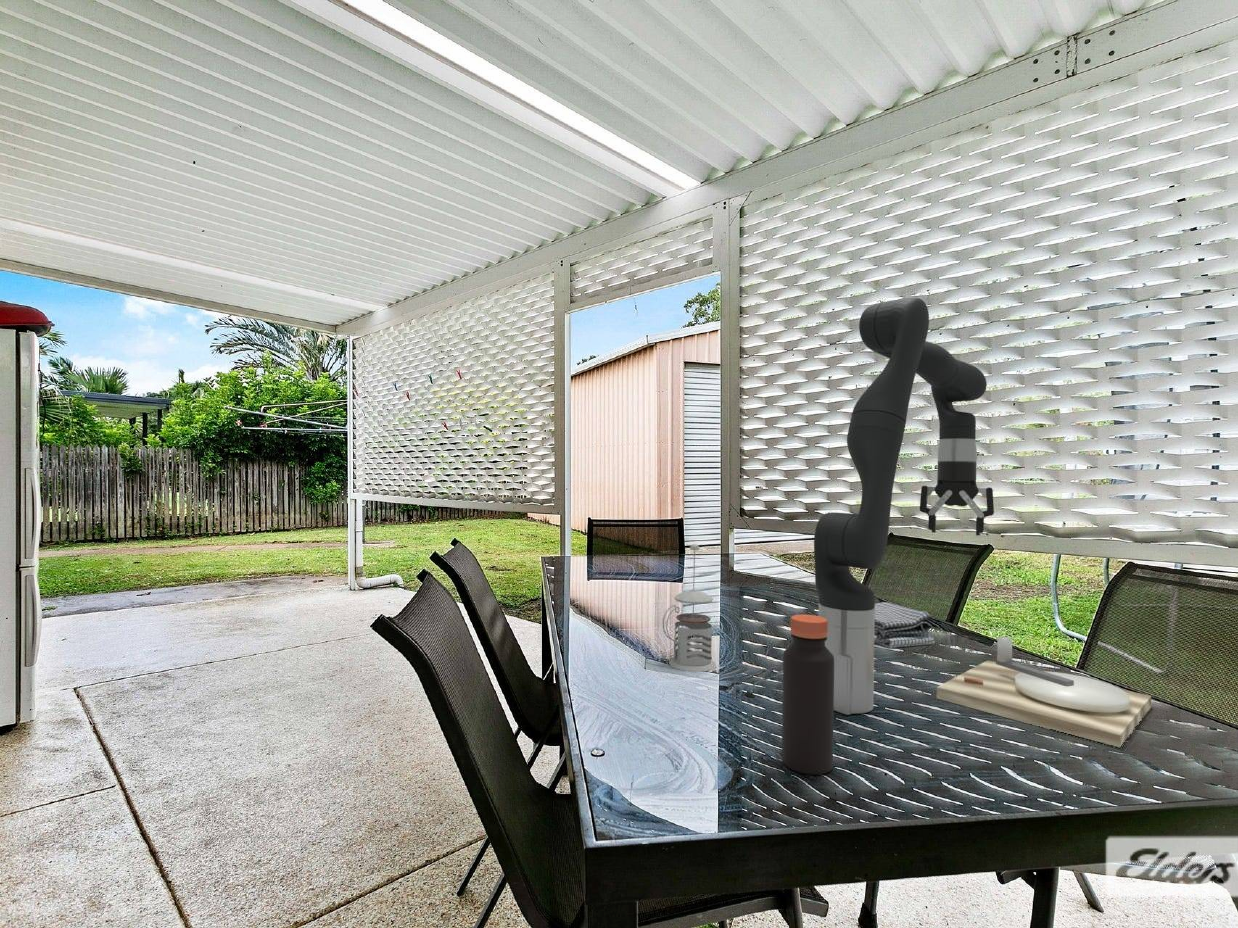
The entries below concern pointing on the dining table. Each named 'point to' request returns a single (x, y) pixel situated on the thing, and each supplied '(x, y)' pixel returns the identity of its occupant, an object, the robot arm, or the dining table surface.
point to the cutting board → (1039, 705)
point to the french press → (692, 632)
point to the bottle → (808, 698)
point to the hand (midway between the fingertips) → (955, 533)
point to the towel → (900, 626)
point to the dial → (1062, 686)
